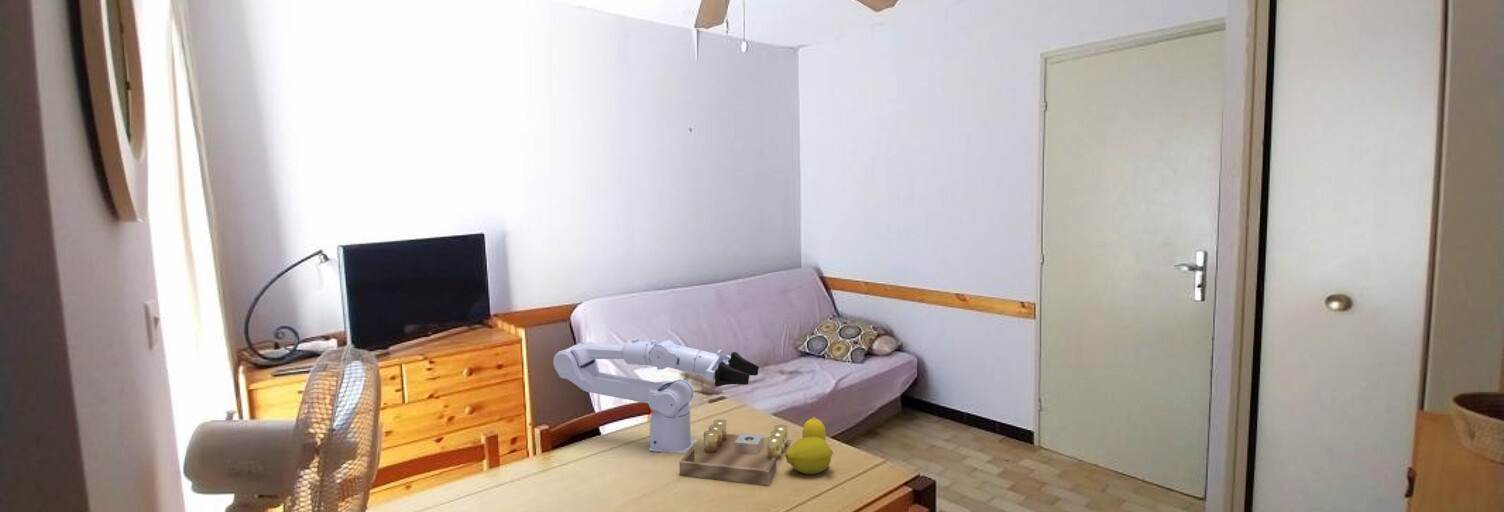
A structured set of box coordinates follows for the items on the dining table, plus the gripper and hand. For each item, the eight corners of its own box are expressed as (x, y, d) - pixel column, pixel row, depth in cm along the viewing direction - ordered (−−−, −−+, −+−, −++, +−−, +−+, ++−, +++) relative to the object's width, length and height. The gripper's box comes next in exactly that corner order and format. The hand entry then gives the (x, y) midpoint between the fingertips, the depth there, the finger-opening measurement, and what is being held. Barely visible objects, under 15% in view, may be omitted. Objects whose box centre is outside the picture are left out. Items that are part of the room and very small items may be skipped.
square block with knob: (734, 452, 147) (734, 442, 147) (741, 442, 153) (741, 433, 152) (757, 454, 146) (757, 444, 146) (763, 444, 151) (763, 435, 151)
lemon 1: (825, 445, 152) (825, 413, 151) (826, 455, 146) (825, 422, 145) (802, 444, 152) (802, 413, 151) (802, 454, 147) (802, 421, 146)
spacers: (702, 453, 147) (701, 434, 147) (716, 436, 157) (715, 418, 156) (779, 461, 142) (779, 442, 142) (789, 443, 152) (788, 425, 151)
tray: (679, 477, 136) (679, 462, 136) (715, 435, 159) (715, 421, 159) (768, 488, 131) (768, 471, 130) (792, 442, 154) (792, 428, 153)
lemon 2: (828, 463, 142) (828, 429, 141) (838, 478, 134) (838, 443, 134) (781, 467, 141) (781, 432, 140) (788, 483, 133) (788, 447, 132)
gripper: (689, 353, 140) (746, 366, 137) (711, 339, 154) (764, 351, 151) (685, 383, 141) (742, 397, 138) (708, 366, 155) (760, 379, 152)
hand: (753, 375), depth 144 cm, fingers open, 7 cm apart
